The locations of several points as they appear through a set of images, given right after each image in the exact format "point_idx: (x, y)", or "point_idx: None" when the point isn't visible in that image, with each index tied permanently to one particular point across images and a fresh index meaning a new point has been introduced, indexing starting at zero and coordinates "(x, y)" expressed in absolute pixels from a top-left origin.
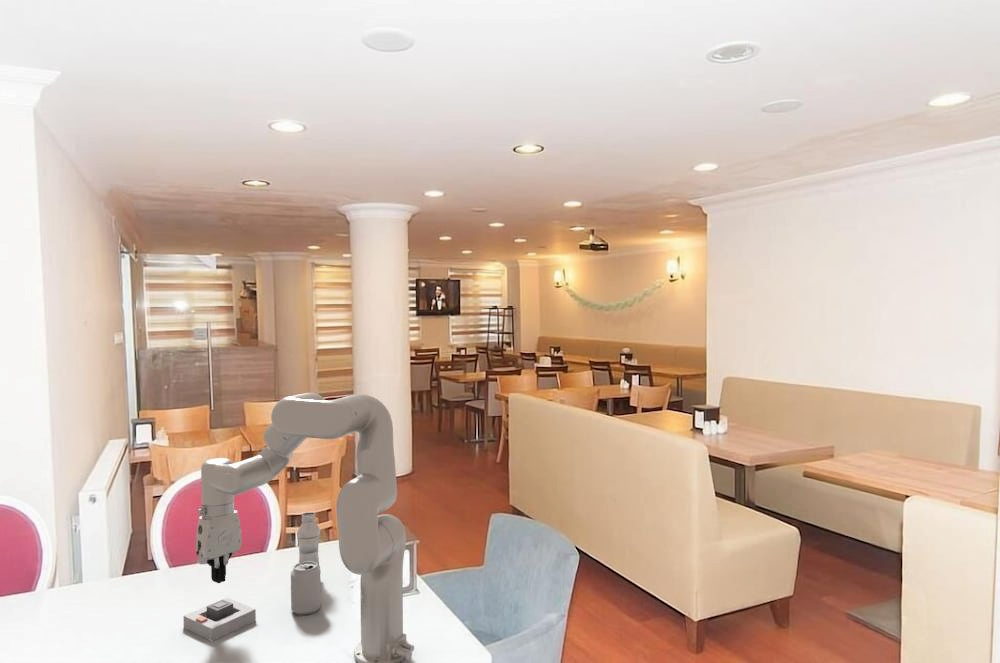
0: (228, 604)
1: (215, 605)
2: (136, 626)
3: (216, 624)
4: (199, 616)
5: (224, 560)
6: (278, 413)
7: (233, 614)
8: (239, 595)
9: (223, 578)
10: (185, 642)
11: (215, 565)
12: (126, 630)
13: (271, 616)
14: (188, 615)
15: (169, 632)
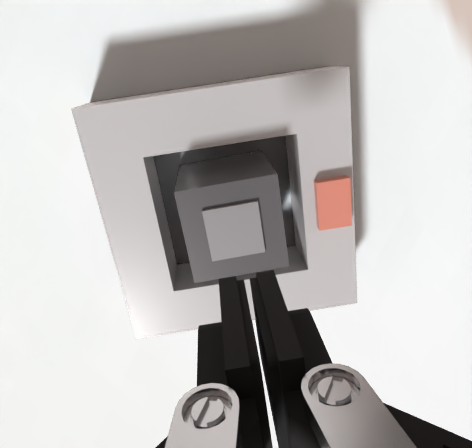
0: (197, 203)
1: (257, 237)
2: (429, 392)
3: (308, 97)
4: (316, 247)
5: (233, 434)
6: None
7: (192, 142)
8: (55, 383)
9: (237, 288)
10: (401, 150)
11: (366, 392)
12: (462, 387)
13: (4, 84)
14: (342, 291)
15: (390, 277)
